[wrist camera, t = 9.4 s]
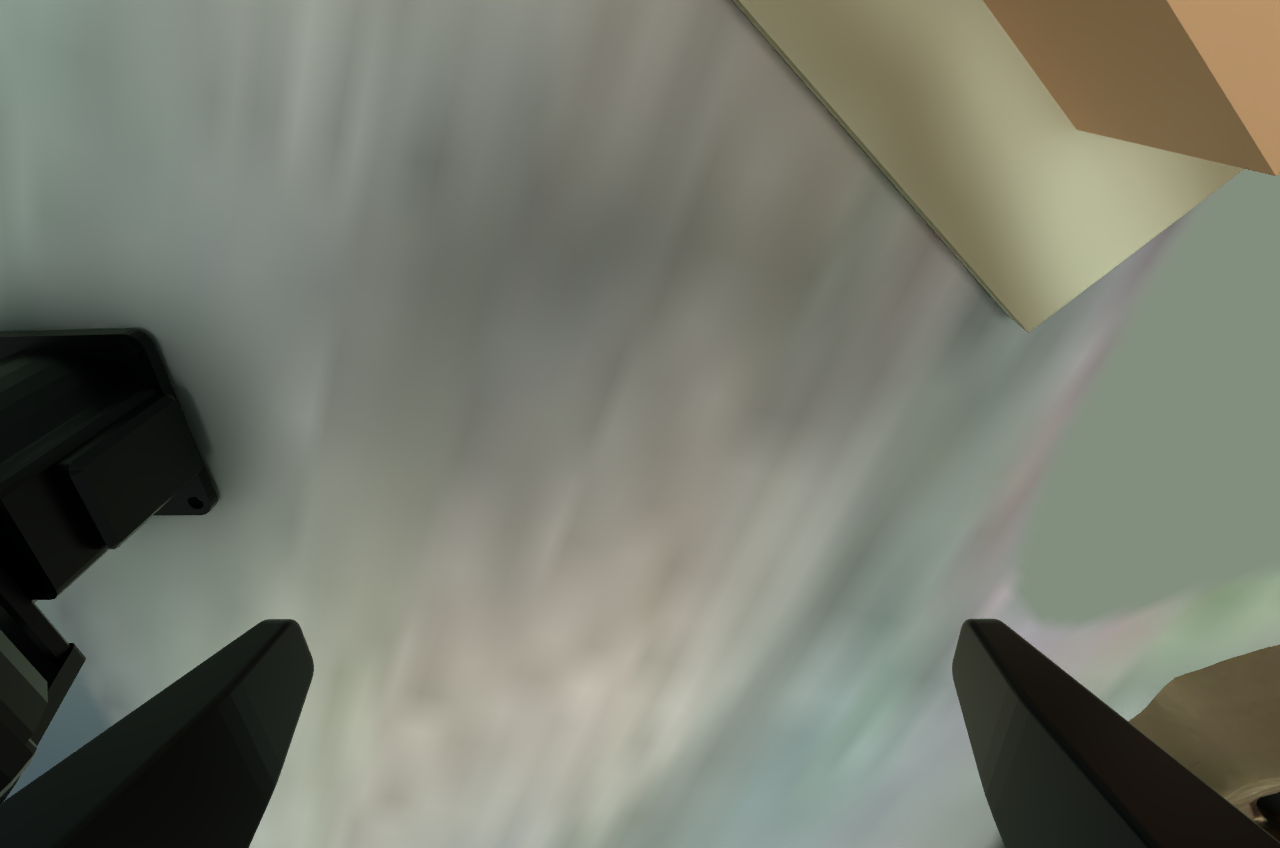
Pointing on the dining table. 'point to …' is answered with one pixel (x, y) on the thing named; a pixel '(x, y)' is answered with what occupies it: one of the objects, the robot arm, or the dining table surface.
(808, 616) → the dining table surface
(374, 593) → the dining table surface
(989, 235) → the cream flat square slab
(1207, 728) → the food dish
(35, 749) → the robot arm
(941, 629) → the dining table surface
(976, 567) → the dining table surface
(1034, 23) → the letter cube
